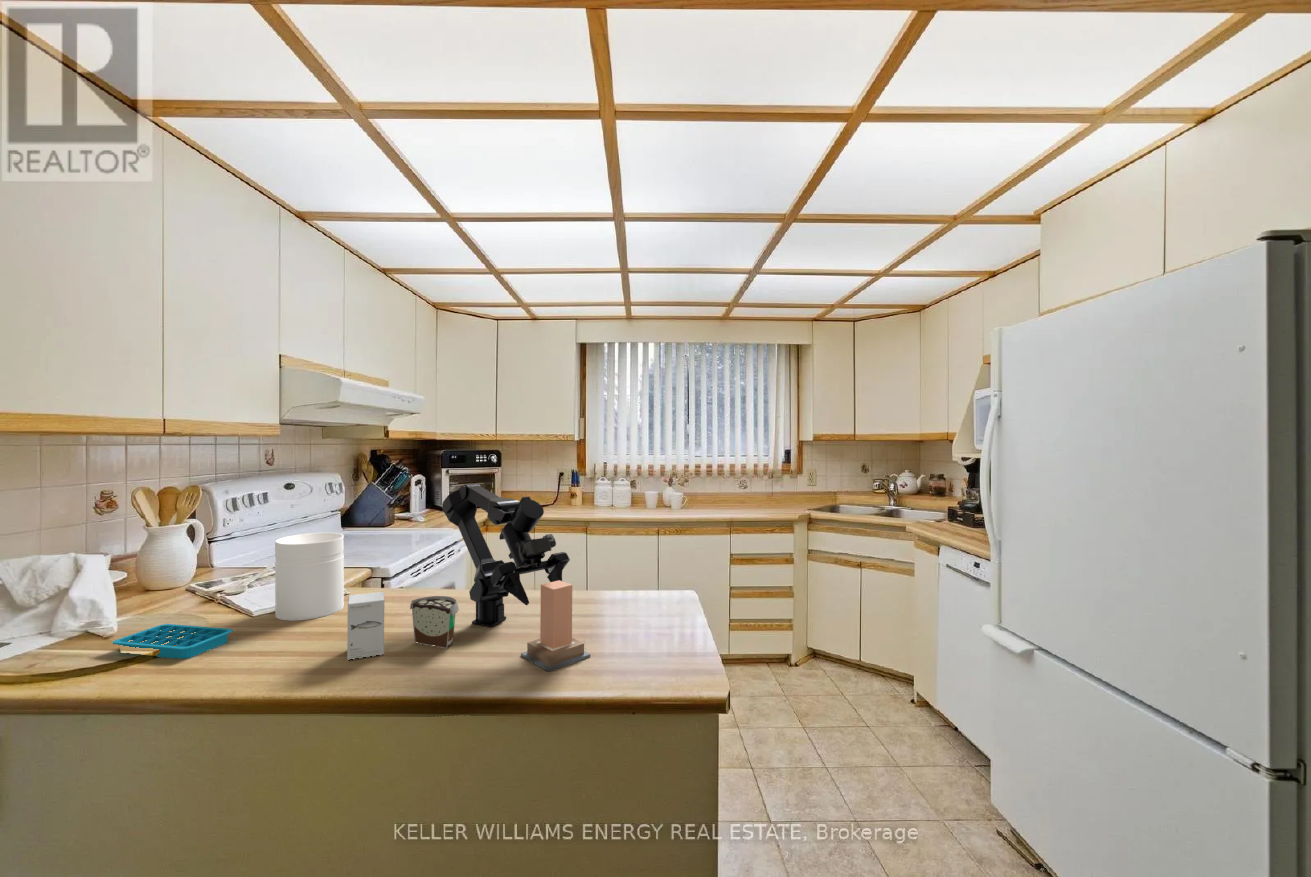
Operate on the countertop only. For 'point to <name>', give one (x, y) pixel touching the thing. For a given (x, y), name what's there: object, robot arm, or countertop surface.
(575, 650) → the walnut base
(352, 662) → the countertop surface
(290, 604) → the canister
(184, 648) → the ice cube tray
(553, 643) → the terracotta block
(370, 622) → the supplement box
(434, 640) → the food container
